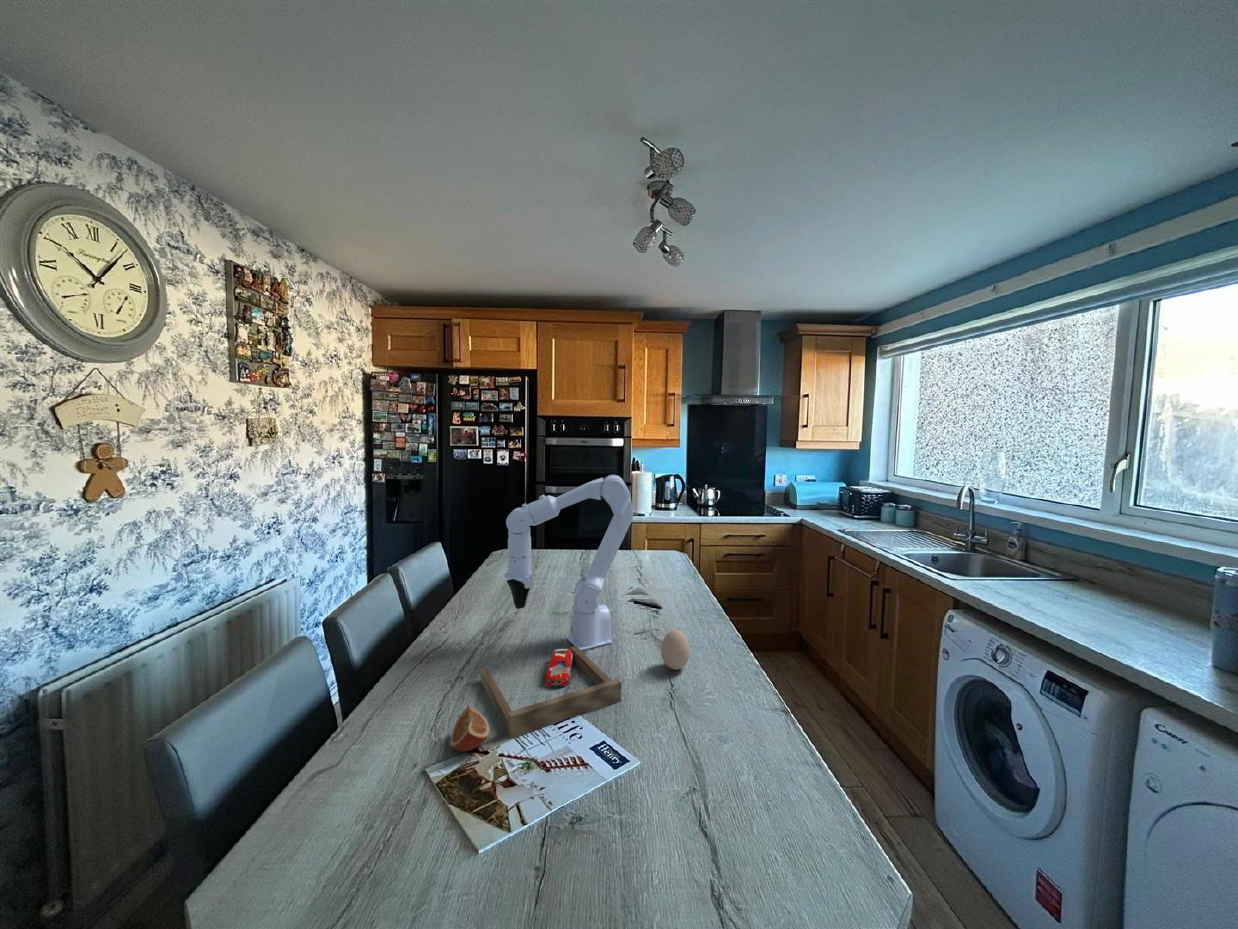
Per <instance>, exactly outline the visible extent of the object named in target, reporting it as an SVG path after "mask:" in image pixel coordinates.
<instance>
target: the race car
mask: <svg viewBox="0 0 1238 929" xmlns="http://www.w3.org/2000/svg"><path fill="white" fill-rule="evenodd" d="M551 654H552V655H551V656H550V659H549V663H548V664H546V667H547V669H546V673H545V678H544V679H545V680H544V681H545V685H546V686H547V687H550V688H561V687H563V688H564V687H565V686H568V685H569V684H570V683H569V682H570V680H571V674H572V670H573V669H572V668H573V663H574V660H573V655H572V652H571V649H569V648H557V649H555V650H554V651H553V652H552V653H551Z"/></svg>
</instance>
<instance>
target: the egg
mask: <svg viewBox="0 0 1238 929" xmlns="http://www.w3.org/2000/svg"><path fill="white" fill-rule="evenodd" d="M690 647H691V646H690V643H689V640H688V639H687V636H686V635H685V634H684V633H683V632H682V631H681V630H679V629H672V630H669V631H668V632H667V633H666V635H665V636H664V638H663V639H662V641H661V647H660V651H661V654H660V655H661V659H662V660H663V662H664V664H665V665H666V666H667V667H668V668H669V669H671V670H674V671H677V670H680V669H683V668H684V667H685V666H686V665H687V663H688V662H689V660H690V655H691V648H690Z"/></svg>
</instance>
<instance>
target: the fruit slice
mask: <svg viewBox="0 0 1238 929" xmlns="http://www.w3.org/2000/svg"><path fill="white" fill-rule="evenodd" d="M490 735H491V727H490V723H489V722H488V720H487V718H486V717H485V716H484V715H483V714H482V713H481V712H480V711H478V710H477V709H476V708H474V707H473V706H471V705H470V704H468V705H467V706H466V708H464V710H462V712H461V713H460V714H459V716H458V717H457V720H456V722H455V725H454V727H453V730H452V733H451V736H450V741H449V746H450V747H451V748H452V749H454V750H455V751H459V752H469V751H472V750H474V749H475V748H477V747H480V746H481V744H483V743H484V742H485V741H486V740H487V739H488V738H489V736H490Z"/></svg>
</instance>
